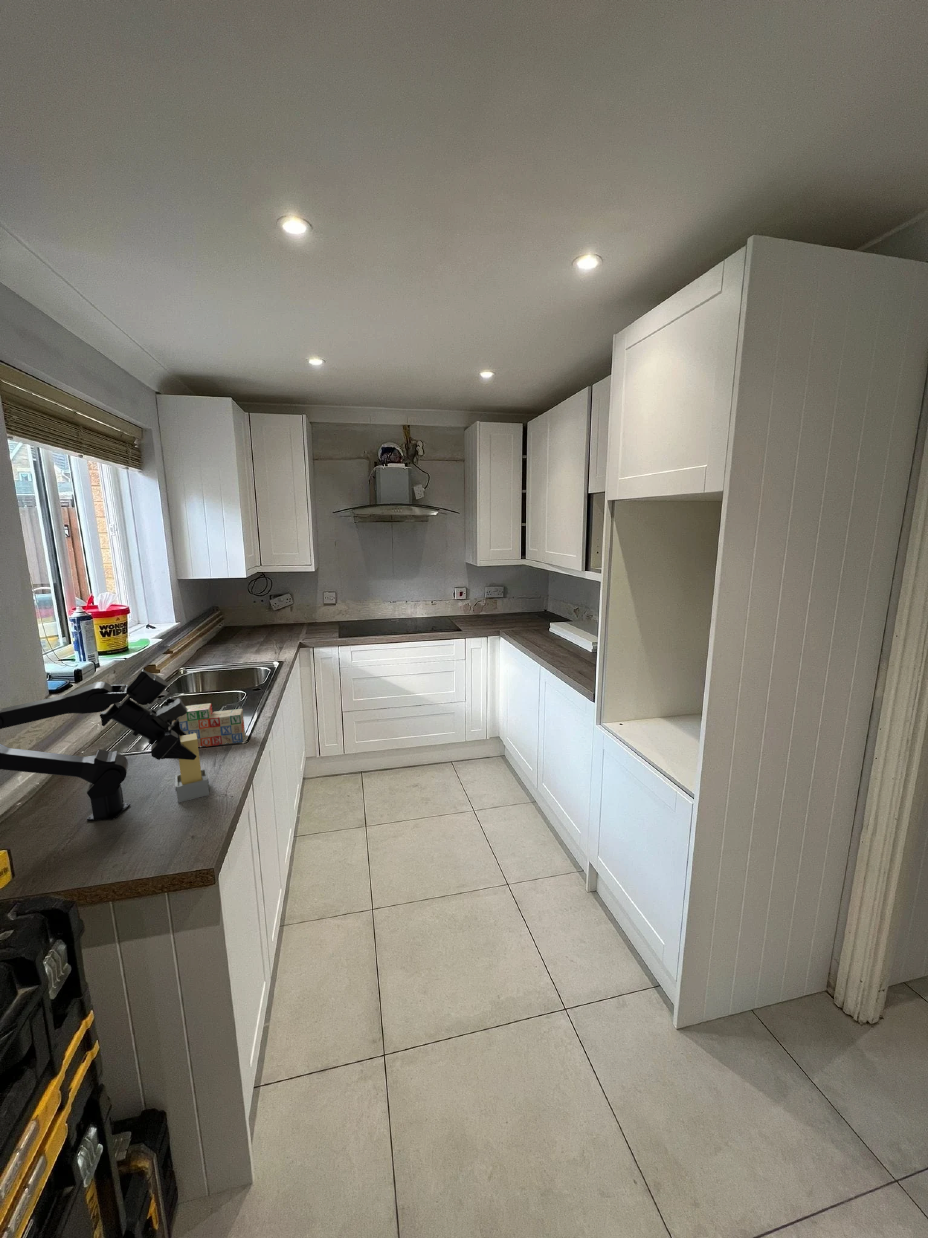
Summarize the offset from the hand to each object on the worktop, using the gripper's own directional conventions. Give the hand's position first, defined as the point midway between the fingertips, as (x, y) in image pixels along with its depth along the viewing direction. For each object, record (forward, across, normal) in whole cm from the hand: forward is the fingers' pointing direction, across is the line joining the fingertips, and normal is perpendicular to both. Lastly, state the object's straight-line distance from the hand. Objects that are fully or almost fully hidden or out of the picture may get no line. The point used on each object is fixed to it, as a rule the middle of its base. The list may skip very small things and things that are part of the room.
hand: (194, 751), depth 127 cm
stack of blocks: (+11, +33, +5) cm, 36 cm away
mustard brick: (+5, 0, +7) cm, 8 cm away
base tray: (+7, 0, +9) cm, 11 cm away
